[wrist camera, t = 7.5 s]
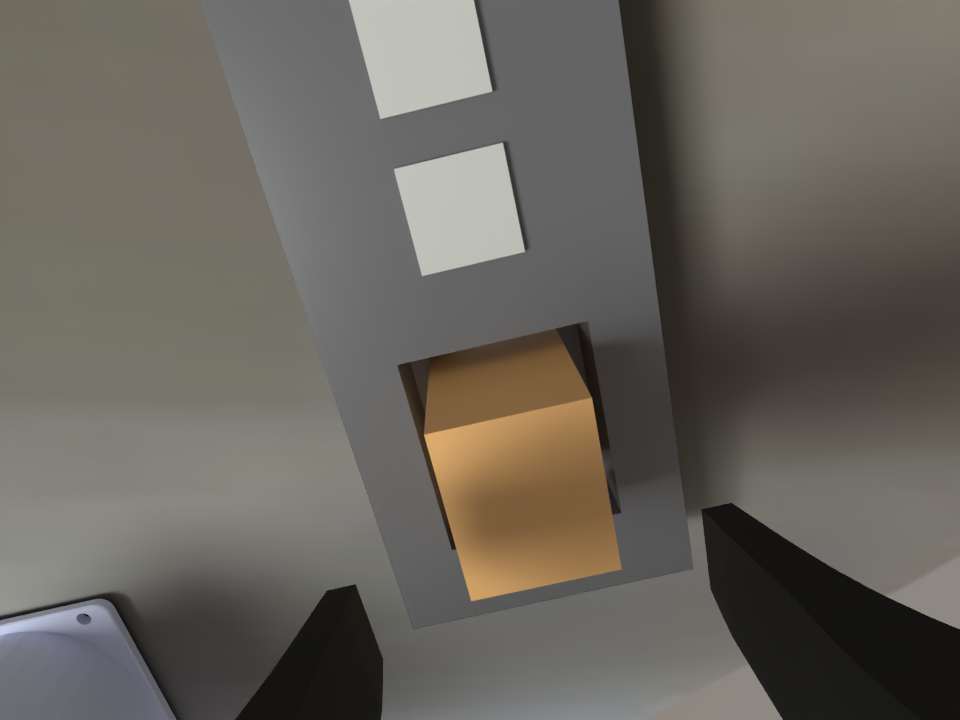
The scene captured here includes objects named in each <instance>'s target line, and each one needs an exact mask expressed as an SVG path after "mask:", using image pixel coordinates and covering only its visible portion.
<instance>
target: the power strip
mask: <svg viewBox="0 0 960 720" xmlns="http://www.w3.org/2000/svg"><path fill="white" fill-rule="evenodd" d="M199 1H200V4H201V7H202V10H203V13H204V16H205V19H206V22H207V25H208V28H209V31H210V34H211V37H212V39H213V42H214V45H215V48H216V51H217V54H218V57H219V60H220V63H221V66H222V69H223V72H224V75H225V78H226V81H227V84H228V86H229V89H230V92H231V95H232V98H233V101H234V104H235V107H236V110H237V113H238V116H239V119H240V122H241V125H242V128H243V130H244V133H245V136H246V139H247V142H248V145H249V148H250V151H251V154H252V157H253V160H254V163H255V166H256V169H257V172H258V175H259V177H260V180H261V183H262V186H263V189H264V192H265V195H266V198H267V201H268V204H269V207H270V210H271V213H272V216H273V219H274V222H275V224H276V227H277V230H278V233H279V236H280V239H281V242H282V245H283V248H284V251H285V254H286V257H287V260H288V263H289V266H290V268H291V271H292V274H293V277H294V280H295V283H296V286H297V289H298V292H299V295H300V298H301V301H302V304H303V307H304V310H305V313H306V315H307V318H308V321H309V324H310V327H311V330H312V333H313V336H314V339H315V342H316V345H317V348H318V351H319V354H320V357H321V359H322V362H323V365H324V368H325V371H326V374H327V377H328V380H329V383H330V386H331V389H332V392H333V395H334V398H335V401H336V404H337V406H338V409H339V412H340V415H341V418H342V421H343V424H344V427H345V430H346V433H347V436H348V439H349V442H350V445H351V448H352V451H353V453H354V456H355V459H356V462H357V465H358V468H359V471H360V474H361V477H362V480H363V483H364V486H365V489H366V492H367V495H368V497H369V500H370V503H371V506H372V509H373V512H374V515H375V518H376V521H377V524H378V527H379V530H380V533H381V536H382V539H383V542H384V544H385V547H386V550H387V553H388V556H389V559H390V562H391V565H392V568H393V571H394V574H395V577H396V580H397V583H398V586H399V588H400V591H401V594H402V597H403V600H404V603H405V606H406V609H407V612H408V615H409V618H410V621H411V624H412V627H413V629H417V628H421V627H426V626H430V625H435V624H440V623H444V622H449V621H454V620H458V619H463V618H467V617H472V616H477V615H481V614H486V613H491V612H495V611H500V610H505V609H509V608H514V607H518V606H523V605H528V604H532V603H537V602H542V601H546V600H551V599H556V598H560V597H565V596H569V595H574V594H579V593H583V592H588V591H593V590H597V589H602V588H606V587H611V586H616V585H620V584H625V583H630V582H634V581H639V580H644V579H648V578H653V577H657V576H662V575H667V574H671V573H676V572H681V571H685V570H690V569H693V564H692V556H691V549H690V541H689V533H688V526H687V518H686V510H685V503H684V495H683V488H682V480H681V472H680V465H679V457H678V449H677V442H676V434H675V427H674V419H673V411H672V404H671V396H670V389H669V381H668V373H667V366H666V358H665V350H664V343H663V335H662V328H661V320H660V312H659V305H658V297H657V289H656V282H655V274H654V267H653V259H652V251H651V244H650V236H649V229H648V221H647V213H646V206H645V198H644V190H643V183H642V175H641V168H640V160H639V152H638V145H637V137H636V129H635V122H634V114H633V107H632V99H631V91H630V84H629V76H628V69H627V61H626V53H625V46H624V38H623V30H622V23H621V15H620V8H619V0H199ZM551 329H556V330H557V332H558V334H559V336H560V338H561V340H562V341H563V343H564V345H565V347H566V349H567V351H568V353H569V355H570V357H571V359H572V361H573V362H574V364H575V366H576V368H577V370H578V372H579V374H580V376H581V378H582V380H583V382H584V383H585V385H586V387H587V389H588V391H589V393H590V395H591V397H592V401H593V406H594V412H595V418H596V424H597V430H598V435H599V441H600V447H601V453H602V458H603V464H604V470H605V476H606V481H607V487H608V493H609V499H610V504H611V510H612V516H613V522H614V528H615V533H616V539H617V545H618V551H619V556H620V562H621V568H622V570H617V571H612V572H607V573H603V574H598V575H593V576H588V577H584V578H579V579H574V580H570V581H565V582H560V583H555V584H551V585H546V586H541V587H536V588H532V589H527V590H522V591H518V592H513V593H508V594H503V595H499V596H494V597H489V598H485V599H480V600H475V601H471V598H470V595H469V591H468V588H467V584H466V581H465V577H464V574H463V570H462V567H461V563H460V560H459V556H458V553H457V549H456V546H455V542H454V539H453V535H452V532H451V528H450V525H449V521H448V518H447V514H446V511H445V507H444V504H443V500H442V497H441V493H440V490H439V486H438V482H437V479H436V475H435V472H434V468H433V465H432V461H431V458H430V454H429V451H428V447H427V444H426V440H425V437H424V428H425V415H426V402H427V390H428V377H429V364H430V357H434V356H439V355H443V354H447V353H452V352H456V351H460V350H465V349H469V348H473V347H478V346H482V345H486V344H491V343H495V342H499V341H504V340H508V339H512V338H517V337H521V336H525V335H530V334H534V333H538V332H543V331H547V330H551Z"/></svg>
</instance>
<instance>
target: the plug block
mask: <svg viewBox="0 0 960 720" xmlns="http://www.w3.org/2000/svg"><path fill="white" fill-rule="evenodd" d="M424 437H425V440H426V444H427V447H428V451H429V454H430V458H431V461H432V465H433V468H434V472H435V475H436V479H437V482H438V486H439V490H440V493H441V497H442V500H443V504H444V507H445V511H446V514H447V518H448V521H449V525H450V528H451V532H452V535H453V539H454V542H455V546H456V549H457V553H458V556H459V560H460V563H461V567H462V570H463V574H464V577H465V581H466V584H467V588H468V591H469V595H470V598H471V601H475V600H480V599H485V598H489V597H494V596H499V595H503V594H508V593H513V592H518V591H522V590H527V589H532V588H536V587H541V586H546V585H551V584H555V583H560V582H565V581H570V580H574V579H579V578H584V577H588V576H593V575H598V574H603V573H607V572H612V571H617V570H622V568H621V562H620V556H619V551H618V545H617V539H616V533H615V528H614V522H613V516H612V510H611V504H610V499H609V493H608V487H607V481H606V476H605V470H604V464H603V458H602V453H601V447H600V441H599V435H598V430H597V424H596V418H595V412H594V406H593V401H592V397H591V395H590V393H589V391H588V389H587V387H586V385H585V383H584V382H583V380H582V378H581V376H580V374H579V372H578V370H577V368H576V366H575V364H574V362H573V361H572V359H571V357H570V355H569V353H568V351H567V349H566V347H565V345H564V343H563V341H562V340H561V338H560V336H559V334H558V332H557V330H556V329H551V330H547V331H543V332H538V333H534V334H530V335H525V336H521V337H517V338H512V339H508V340H504V341H499V342H495V343H491V344H486V345H482V346H478V347H473V348H469V349H465V350H460V351H456V352H452V353H447V354H443V355H439V356H434V357H430V364H429V377H428V390H427V402H426V415H425V428H424Z"/></svg>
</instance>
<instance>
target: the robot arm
mask: <svg viewBox="0 0 960 720" xmlns="http://www.w3.org/2000/svg"><path fill="white" fill-rule="evenodd" d="M701 510H702V519H703V527H704V536H705V544H706V553H707V561H708V570H709V578H710V587H711V591H712V593H713V595H714V598H715V600H716V602H717V604H718V607H719V609H720V611H721V613H722V615H723V618H724V620H725V622H726V624H727V626H728V628H729V630H730V632H731V635H732V637H733V638H734V640H735V642H736V643H737V645H738V647H739V648H740V650H741V652H742V653H743V655H744V657H745V658H746V660H747V662H748V663H749V665H750V667H751V668H752V670H753V671H754V673H755V674H756V676H757V678H758V680H759V681H760V683H761V685H762V686H763V688H764V689H765V691H766V693H767V694H768V696H769V698H770V699H771V701H772V702H773V704H774V706H775V707H776V709H777V711H778V712H779V714H780V716H781V717H782V719H783V720H960V629H957V628H955V627H952V626H949V625H948V624H945V623H943V622H940V621H938V620H936V619H933V618H931V617H929V616H926V615H924V614H921V613H920V612H918V611H916V610H913V609H911V608H909V607H907V606H905V605H903V604H901V603H898V602H896V601H894V600H892V599H890V598H888V597H886V596H884V595H882V594H880V593H878V592H876V591H874V590H872V589H870V588H868V587H866V586H864V585H862V584H861V583H859V582H857V581H855V580H853V579H851V578H850V577H848V576H846V575H844V574H842V573H841V572H839V571H837V570H835V569H833V568H832V567H830V566H828V565H827V564H825V563H823V562H822V561H820V560H818V559H817V558H815V557H813V556H812V555H810V554H809V553H807V552H805V551H804V550H802V549H800V548H799V547H797V546H796V545H794V544H793V543H791V542H789V541H788V540H786V539H785V538H783V537H782V536H780V535H779V534H777V533H776V532H774V531H773V530H771V529H770V528H768V527H767V526H765V525H764V524H762V523H761V522H759V521H758V520H756V519H755V518H753V517H752V516H750V515H749V514H747V513H746V512H744V511H743V510H741V509H740V508H738V507H737V506H735V505H734V504H732V503H729V504H724V505H720V506H715V507H710V508H706V509H701ZM84 614H87V615H89V616H90V617H88V616H85V615H84ZM382 691H383V658H382V655H381V652H380V650H379V647H378V644H377V642H376V639H375V636H374V633H373V631H372V628H371V625H370V622H369V620H368V617H367V614H366V612H365V609H364V606H363V603H362V601H361V598H360V595H359V592H358V590H357V587H356V585H351V586H347V587H342V588H337V589H333V590H328V591H327V592H326V593H325V594H324V596H323V597H322V599H321V600H320V602H319V603H318V605H317V606H316V608H315V609H314V610H313V612H312V613H311V615H310V616H309V618H308V619H307V621H306V622H305V624H304V625H303V627H302V628H301V630H300V631H299V633H298V634H297V636H296V637H295V639H294V640H293V642H292V643H291V645H290V646H289V648H288V649H287V650H286V652H285V653H284V655H283V656H282V658H281V659H280V660H279V662H278V663H277V665H276V666H275V668H274V669H273V671H272V672H271V673H270V675H269V676H268V677H267V679H266V680H265V681H264V683H263V684H262V685H261V687H260V688H259V689H258V691H257V692H256V693H255V695H254V696H253V697H252V698H251V700H250V701H249V702H248V704H247V705H246V706H245V708H244V709H243V710H242V712H241V713H240V714H239V715H238V717H237V718H236V719H235V720H381V712H382ZM0 720H176V718H175V716H174V714H173V712H172V711H171V709H170V707H169V705H168V703H167V702H166V700H165V698H164V696H163V694H162V692H161V691H160V689H159V687H158V685H157V683H156V682H155V680H154V678H153V676H152V674H151V672H150V671H149V669H148V667H147V665H146V663H145V661H144V660H143V658H142V656H141V654H140V652H139V651H138V649H137V647H136V645H135V643H134V641H133V640H132V638H131V636H130V634H129V632H128V631H127V629H126V627H125V625H124V623H123V621H122V620H121V618H120V616H119V614H118V612H117V610H116V609H115V607H114V606H113V604H112V603H111V602H109V601H107V600H104V599H94V600H89V601H85V602H80V603H76V604H71V605H67V606H62V607H58V608H53V609H49V610H44V611H40V612H35V613H31V614H26V615H22V616H17V617H13V618H8V619H4V620H0Z"/></svg>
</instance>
